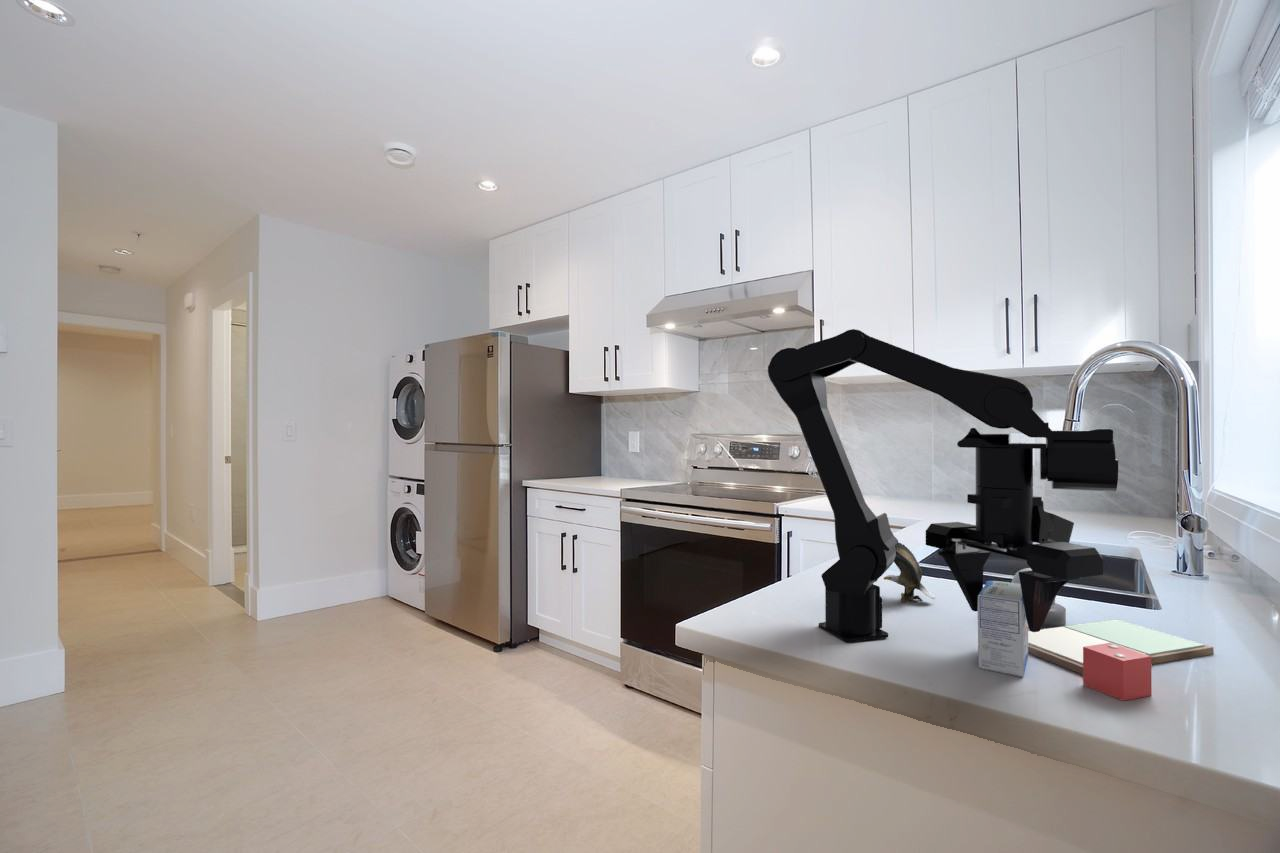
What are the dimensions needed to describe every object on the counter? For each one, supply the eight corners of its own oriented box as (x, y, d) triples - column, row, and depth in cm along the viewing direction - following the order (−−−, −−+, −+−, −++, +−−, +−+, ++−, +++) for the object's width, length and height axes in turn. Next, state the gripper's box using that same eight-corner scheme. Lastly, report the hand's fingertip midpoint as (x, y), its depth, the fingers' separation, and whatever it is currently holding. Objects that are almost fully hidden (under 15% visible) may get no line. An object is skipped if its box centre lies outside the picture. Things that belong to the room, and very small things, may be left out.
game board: (1086, 675, 65) (1086, 666, 65) (999, 641, 76) (999, 633, 76) (1213, 653, 71) (1213, 645, 71) (1116, 624, 82) (1116, 617, 82)
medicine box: (1023, 679, 64) (1024, 599, 64) (977, 669, 67) (977, 593, 67) (1028, 656, 71) (1028, 584, 71) (985, 648, 73) (985, 578, 73)
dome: (1036, 611, 81) (1036, 574, 81) (1003, 601, 86) (1002, 565, 86) (1064, 608, 83) (1064, 571, 83) (1030, 598, 88) (1029, 563, 88)
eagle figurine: (877, 594, 97) (877, 540, 97) (922, 595, 96) (922, 540, 96) (892, 608, 90) (892, 549, 90) (941, 609, 89) (941, 550, 89)
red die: (1123, 700, 59) (1123, 660, 59) (1083, 684, 63) (1083, 646, 63) (1151, 695, 60) (1151, 655, 60) (1110, 679, 64) (1110, 642, 64)
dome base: (1037, 630, 80) (1037, 615, 80) (989, 613, 87) (989, 599, 87) (1079, 624, 82) (1079, 610, 82) (1028, 608, 89) (1028, 595, 89)
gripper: (1140, 493, 62) (1141, 640, 62) (988, 478, 80) (989, 593, 80) (1062, 496, 59) (1062, 652, 59) (922, 480, 77) (922, 600, 77)
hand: (1004, 620), depth 69 cm, fingers open, 7 cm apart
